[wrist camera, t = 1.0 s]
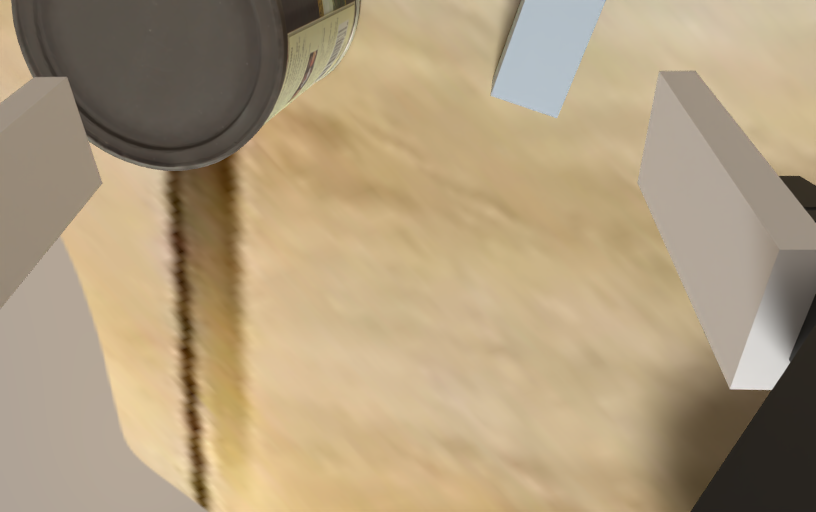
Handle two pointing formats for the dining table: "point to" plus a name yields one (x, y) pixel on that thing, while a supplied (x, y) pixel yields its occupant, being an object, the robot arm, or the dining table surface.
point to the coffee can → (182, 68)
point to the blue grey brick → (544, 52)
